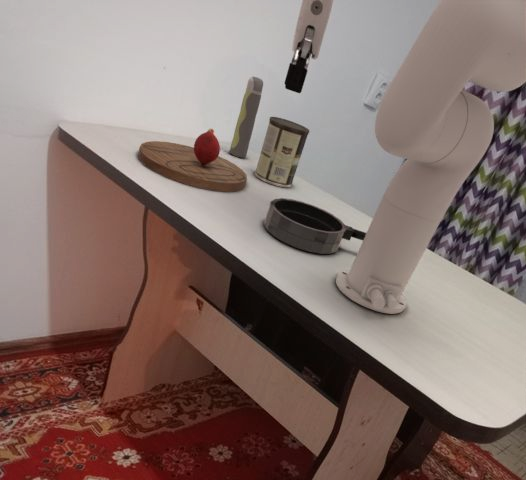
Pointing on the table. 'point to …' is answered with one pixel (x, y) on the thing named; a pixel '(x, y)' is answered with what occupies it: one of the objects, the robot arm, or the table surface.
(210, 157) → the onion
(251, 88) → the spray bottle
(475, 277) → the table surface
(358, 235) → the pan handle
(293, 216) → the pan
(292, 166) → the coffee can
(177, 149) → the trivet
